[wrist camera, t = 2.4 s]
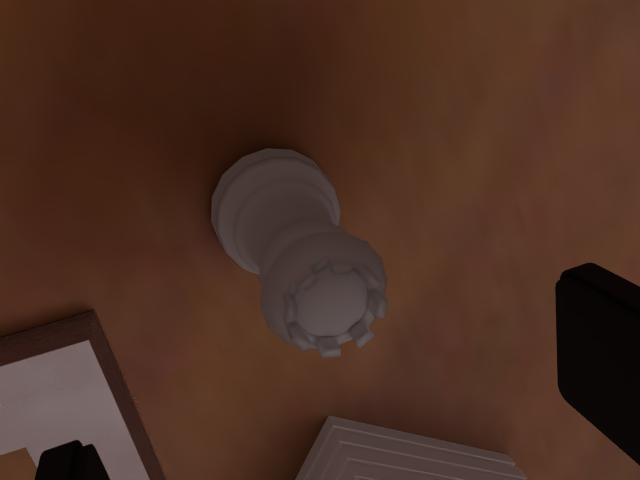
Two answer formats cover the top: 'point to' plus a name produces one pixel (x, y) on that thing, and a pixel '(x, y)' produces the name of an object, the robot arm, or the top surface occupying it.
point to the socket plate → (71, 398)
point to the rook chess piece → (299, 251)
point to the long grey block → (397, 456)
